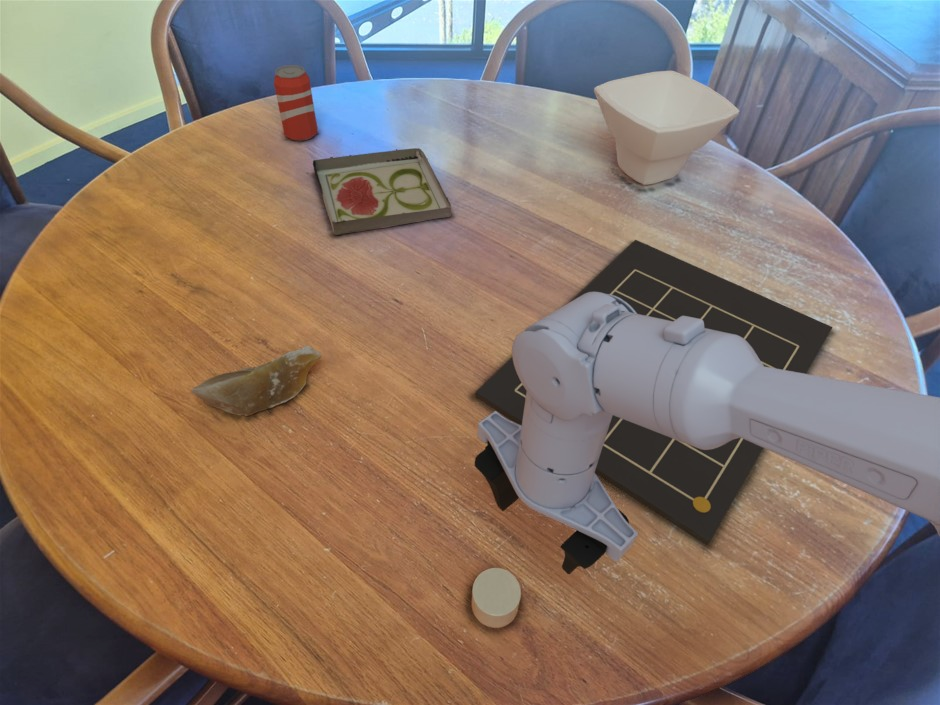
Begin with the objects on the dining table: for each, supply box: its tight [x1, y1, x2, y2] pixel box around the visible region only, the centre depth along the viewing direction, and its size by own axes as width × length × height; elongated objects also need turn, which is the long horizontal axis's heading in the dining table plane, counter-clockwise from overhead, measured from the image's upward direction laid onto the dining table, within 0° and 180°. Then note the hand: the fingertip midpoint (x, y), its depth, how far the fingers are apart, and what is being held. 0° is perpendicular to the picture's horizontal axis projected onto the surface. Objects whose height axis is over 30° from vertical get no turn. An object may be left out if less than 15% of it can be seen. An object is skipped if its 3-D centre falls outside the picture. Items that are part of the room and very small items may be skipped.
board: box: [475, 239, 833, 546], centre depth 79 cm, size 40×30×1 cm
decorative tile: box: [312, 147, 452, 236], centre depth 104 cm, size 20×3×20 cm
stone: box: [190, 345, 322, 417], centre depth 72 cm, size 7×6×15 cm
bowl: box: [593, 70, 740, 186], centre depth 106 cm, size 19×19×14 cm
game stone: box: [471, 567, 522, 629], centre depth 57 cm, size 4×4×3 cm
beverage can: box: [273, 64, 318, 142], centre depth 113 cm, size 6×6×12 cm
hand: (539, 532), depth 53 cm, fingers open, 7 cm apart
